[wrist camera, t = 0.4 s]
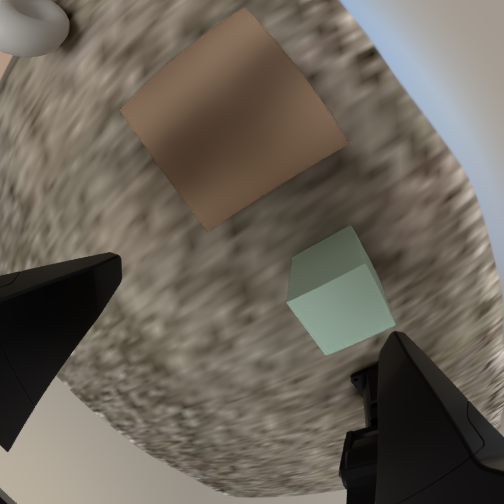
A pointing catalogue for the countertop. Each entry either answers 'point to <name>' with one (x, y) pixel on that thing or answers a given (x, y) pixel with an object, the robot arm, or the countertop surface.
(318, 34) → the countertop surface
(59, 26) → the donut
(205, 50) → the walnut base
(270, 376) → the countertop surface
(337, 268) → the sage block
